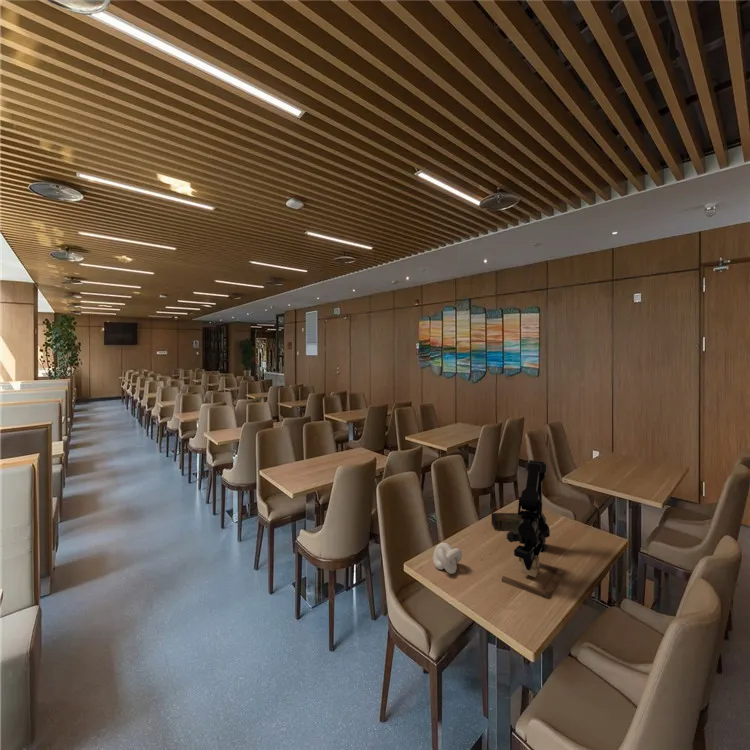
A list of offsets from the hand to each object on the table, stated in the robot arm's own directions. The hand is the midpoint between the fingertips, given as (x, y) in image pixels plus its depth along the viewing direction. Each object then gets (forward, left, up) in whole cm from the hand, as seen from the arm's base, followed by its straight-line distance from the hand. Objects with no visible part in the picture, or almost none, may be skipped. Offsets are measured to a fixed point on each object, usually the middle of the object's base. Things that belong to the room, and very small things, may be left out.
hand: (530, 566), depth 143 cm
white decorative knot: (+15, -29, -4) cm, 33 cm away
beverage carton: (-38, -22, -4) cm, 44 cm away
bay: (0, 0, -4) cm, 4 cm away
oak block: (0, 0, -2) cm, 2 cm away
